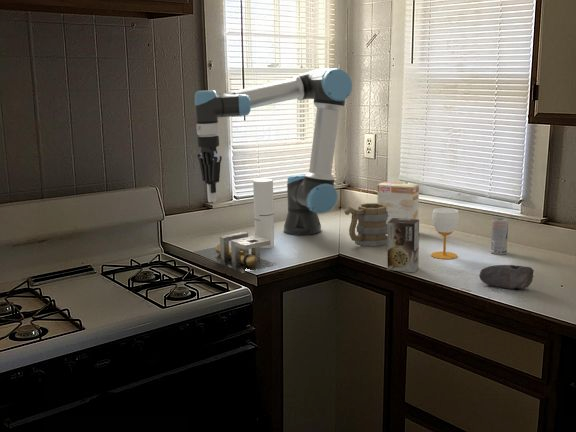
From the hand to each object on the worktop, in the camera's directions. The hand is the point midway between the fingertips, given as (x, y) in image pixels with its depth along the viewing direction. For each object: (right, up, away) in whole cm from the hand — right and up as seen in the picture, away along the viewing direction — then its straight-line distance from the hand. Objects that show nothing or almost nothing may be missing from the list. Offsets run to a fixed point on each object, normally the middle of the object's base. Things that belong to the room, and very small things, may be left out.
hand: (212, 201), depth 228 cm
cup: (+81, -19, -7) cm, 84 cm away
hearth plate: (+8, -20, -7) cm, 23 cm away
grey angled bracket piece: (+9, -20, -8) cm, 23 cm away
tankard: (+56, -16, +11) cm, 59 cm away
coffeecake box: (+71, -12, +27) cm, 77 cm away
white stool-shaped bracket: (+15, -22, -15) cm, 30 cm away
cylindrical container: (+18, -17, +9) cm, 27 cm away
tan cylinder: (+10, -20, -9) cm, 24 cm away
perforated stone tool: (+91, -26, -40) cm, 103 cm away
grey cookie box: (+64, -23, -21) cm, 71 cm away
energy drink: (+101, -18, -5) cm, 103 cm away
